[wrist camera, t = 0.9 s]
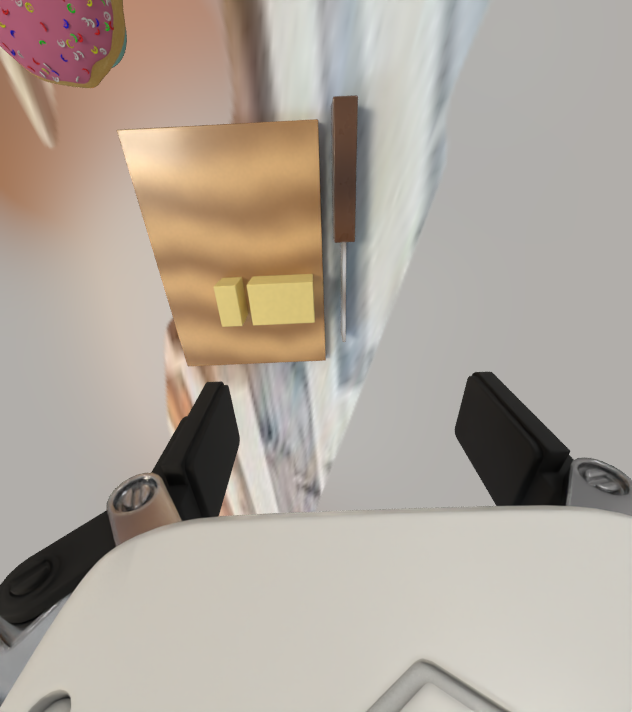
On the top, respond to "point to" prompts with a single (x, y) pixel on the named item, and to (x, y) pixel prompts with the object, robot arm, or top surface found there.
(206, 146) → the board
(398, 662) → the robot arm
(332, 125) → the knife
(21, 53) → the birthday cake
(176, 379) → the top surface
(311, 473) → the top surface
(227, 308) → the butter pat
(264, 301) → the butter
